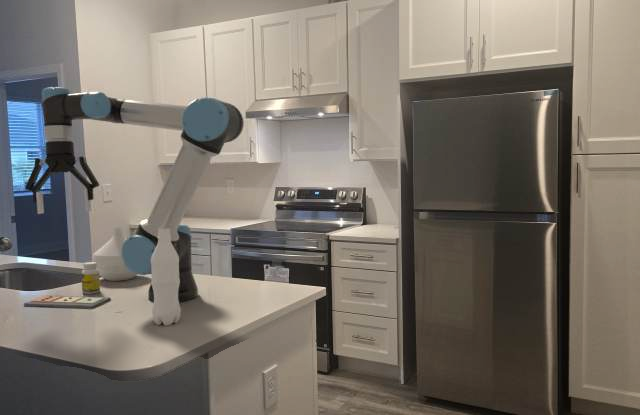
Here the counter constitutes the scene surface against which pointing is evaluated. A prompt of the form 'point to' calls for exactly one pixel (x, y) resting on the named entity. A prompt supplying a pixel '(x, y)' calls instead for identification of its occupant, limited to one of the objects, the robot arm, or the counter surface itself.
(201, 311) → the counter surface
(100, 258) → the vase
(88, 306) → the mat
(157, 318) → the water bottle
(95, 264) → the supplement bottle
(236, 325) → the counter surface
